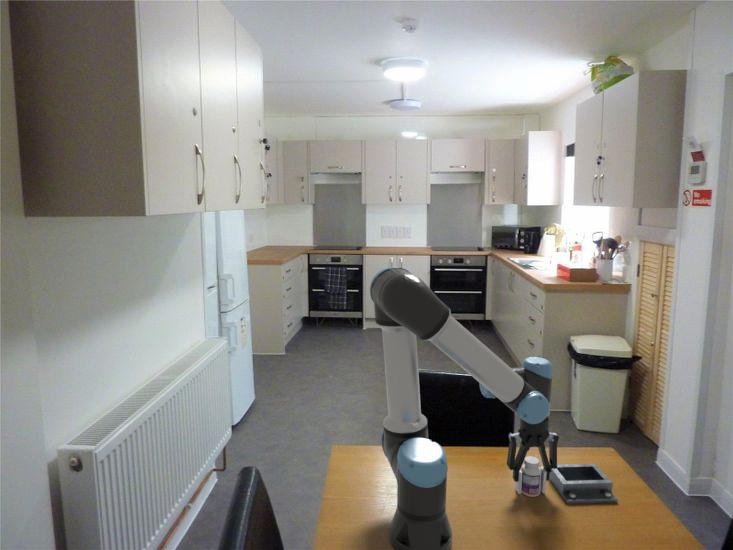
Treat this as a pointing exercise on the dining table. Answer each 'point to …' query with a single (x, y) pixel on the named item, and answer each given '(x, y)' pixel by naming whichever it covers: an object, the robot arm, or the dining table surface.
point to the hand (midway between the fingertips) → (530, 490)
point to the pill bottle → (531, 477)
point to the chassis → (582, 484)
